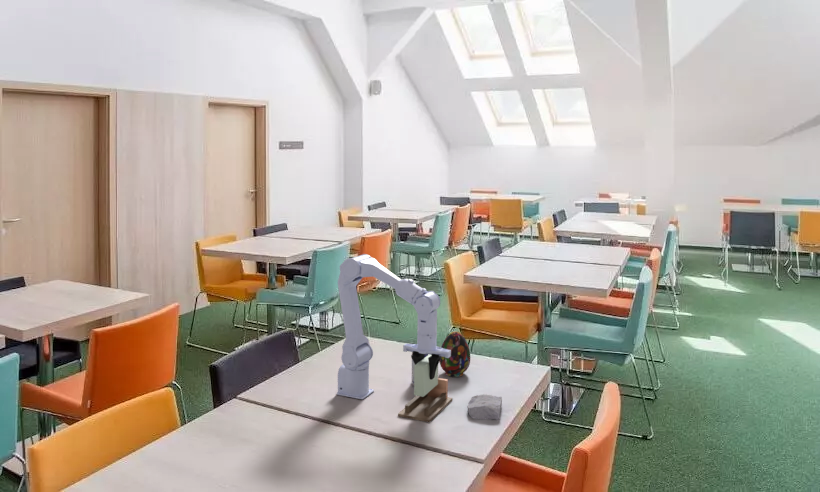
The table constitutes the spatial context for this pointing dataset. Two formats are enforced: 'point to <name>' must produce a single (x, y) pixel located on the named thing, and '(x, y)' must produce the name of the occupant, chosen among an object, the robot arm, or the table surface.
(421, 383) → the book
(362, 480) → the table surface
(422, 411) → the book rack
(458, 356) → the egg
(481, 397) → the stone block
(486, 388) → the table surface
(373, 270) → the robot arm
